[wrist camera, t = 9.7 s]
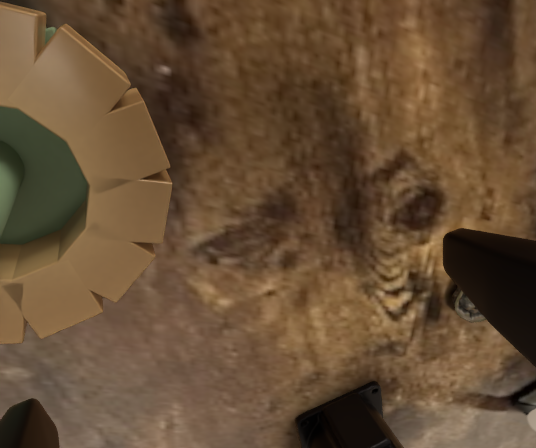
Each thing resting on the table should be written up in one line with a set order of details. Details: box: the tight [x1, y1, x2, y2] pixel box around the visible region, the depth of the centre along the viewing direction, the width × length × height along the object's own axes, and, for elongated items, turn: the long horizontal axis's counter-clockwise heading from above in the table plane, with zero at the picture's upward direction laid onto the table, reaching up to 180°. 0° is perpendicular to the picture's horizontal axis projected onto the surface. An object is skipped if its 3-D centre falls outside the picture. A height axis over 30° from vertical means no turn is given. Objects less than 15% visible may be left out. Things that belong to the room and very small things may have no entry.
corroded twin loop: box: [452, 286, 486, 322], centre depth 30 cm, size 5×8×1 cm, turn 100°
